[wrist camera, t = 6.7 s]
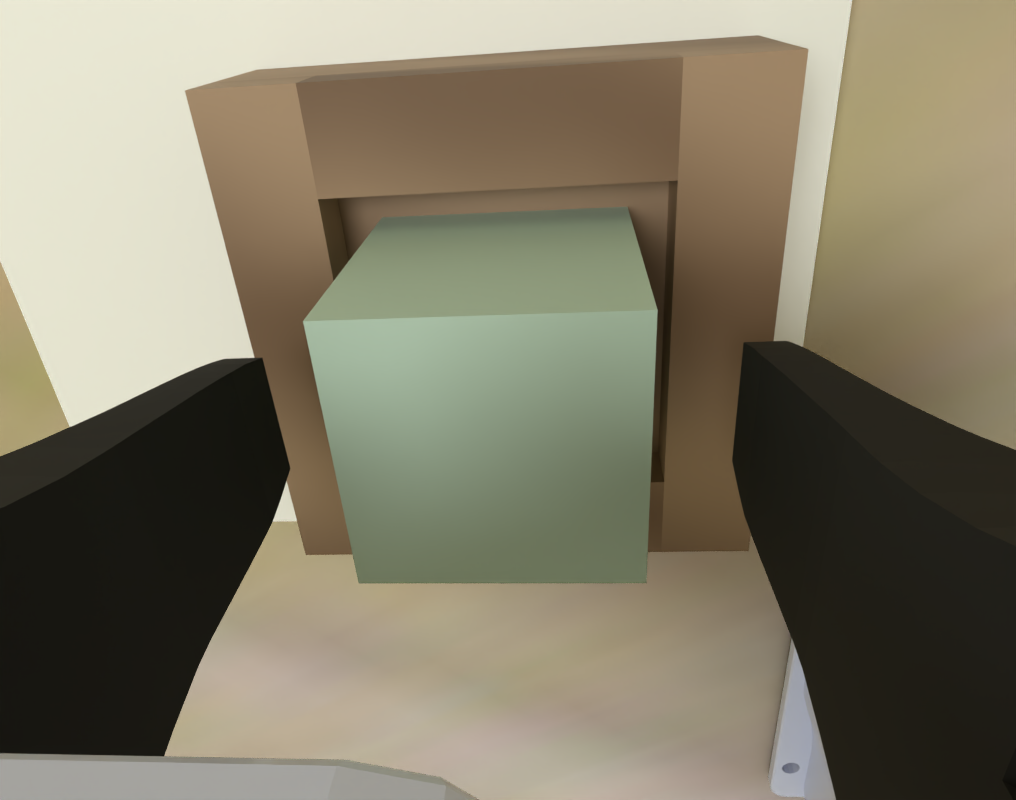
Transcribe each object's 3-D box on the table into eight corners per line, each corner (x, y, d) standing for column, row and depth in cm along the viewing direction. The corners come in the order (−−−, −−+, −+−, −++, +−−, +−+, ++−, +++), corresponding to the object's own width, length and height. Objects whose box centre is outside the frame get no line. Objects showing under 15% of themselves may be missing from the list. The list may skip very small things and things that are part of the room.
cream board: (770, 495, 18) (778, 514, 18) (126, 504, 20) (110, 523, 19) (995, -1198, 8) (1038, -1315, 7) (-436, -903, 9) (-518, -976, 9)
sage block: (623, 420, 14) (646, 583, 11) (412, 424, 15) (359, 583, 11) (627, 206, 12) (657, 310, 9) (381, 217, 13) (303, 320, 9)
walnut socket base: (720, 464, 17) (748, 551, 15) (343, 471, 18) (306, 554, 15) (758, 34, 13) (808, 49, 10) (257, 69, 14) (184, 90, 11)
